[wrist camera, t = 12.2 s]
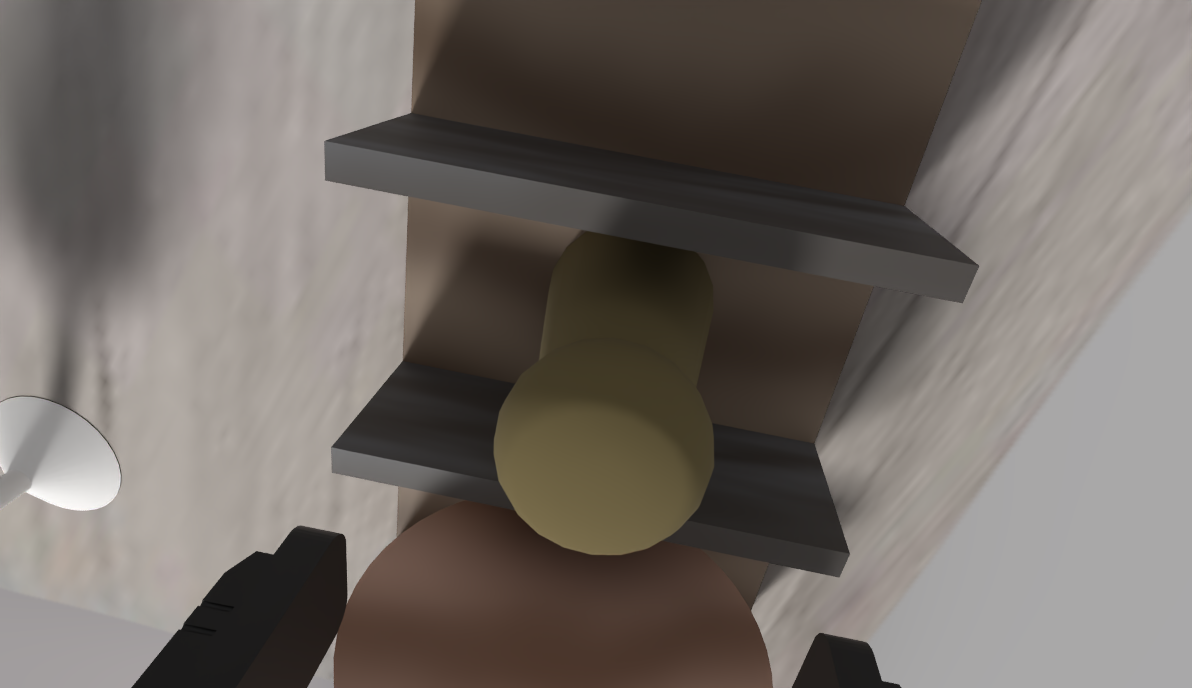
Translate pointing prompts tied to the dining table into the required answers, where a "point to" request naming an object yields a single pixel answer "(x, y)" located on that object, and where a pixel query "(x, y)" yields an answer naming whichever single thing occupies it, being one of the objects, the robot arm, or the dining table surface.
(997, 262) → the dining table surface
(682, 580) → the rack
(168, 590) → the dining table surface
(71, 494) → the champagne flute
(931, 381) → the dining table surface
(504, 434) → the cork
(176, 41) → the dining table surface
